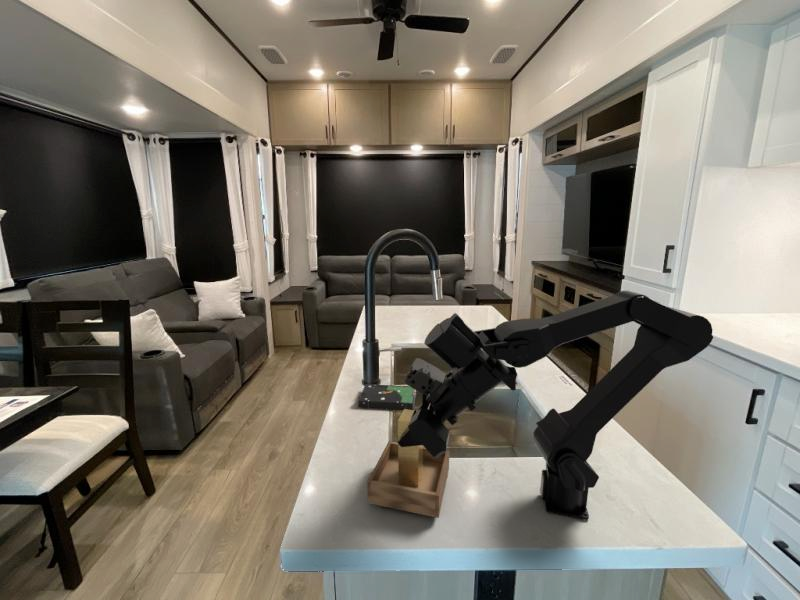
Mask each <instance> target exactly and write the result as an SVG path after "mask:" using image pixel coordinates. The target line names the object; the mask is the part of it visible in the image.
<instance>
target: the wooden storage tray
mask: <svg viewBox="0 0 800 600" xmlns="http://www.w3.org/2000/svg"><path fill="white" fill-rule="evenodd" d="M449 471H450V450H446V452H444V453H443V454H442V455H440V456H439V457H438V458H435V457H433V456H432V455H431V454H430V453H429V452H428V451H427V449H426V448H425V447H424V446H423V473H422V477H421V480H420V483H419V486H418V487H415V486H410V485H404V484H399V469H398V441H397V442H396V441H391V440H390V441H389V440H388V442H387V443H386V446H385V448H384V449H383V452H382V453H381V455H380V457H379V459H378V460H377V462H376V464H375V466H374V469H373V471H372V472H371V474H370V476H369V478H368V480H367V481H366V482H367V483H366V486H367V504H370V505H376V506H380V507H386V508H390V509H395V510H400V511H403V512H404V511H405V512H409V513H414V514H418V515H424V516H427V517H433V518H437V519H439V518H440V513H441V507H442V504H443V500H444V496H445V495H444V494H445V491H446V485H447V480H448V476H449Z"/></svg>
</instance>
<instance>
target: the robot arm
mask: <svg viewBox="0 0 800 600" xmlns="http://www.w3.org/2000/svg"><path fill="white" fill-rule="evenodd" d="M632 322H634V323H636V324H637V325H639V327H638V329H637V331H636V336H635V341H634V344H633V346H632V348H630V350H629V351H628V352H627V353H626V354H625V355H624V356H623V357H621V359H620V360H619V361H618V362H617V363H616V364H615V365H614V366H613V367H612V368H611V369H610V370H609V371H608V372H606V374H605V375H604V376H603V377H602V378H601V379H600V380H599V381H597V383H596V384H595V385H594V386H593V387H592V388H591V389H590V390H589V391H588V392H587V393H586V394H585V395H584V396H583V397H582V398H581V399H580V400H579V401H578V402H577V403H576V404H575V405H574V406H573V407H572V408H571V409H569V410H565V411H562V412H558V411H557V410H556V409H555V408H551V409H549V411H548V412H547V413H546V414H545V416H544V417H543V418H542V419H540V420H539V421H536V423H535V424H536V426H537V427H536V428H535V429H534V431H533V443H534V444H535V446H536V448H537V450H538V452H539V453H540V454H541V456H542V458H543V459H544V460H545V469H542V470H541V477H540V478H541V479H540V489H539V490H540V497H541V500H542V501H543V502H544V507H545V511H546V512H548V513H550V514H554V515H555V514H556V515H561V516H566V517H571V518H577V519H581V520H585V521H586V520H589V519H590V516H589V511H588V508H587V505H588V498H589V497H588V496H589V489H591V488H594V487H595V486H596V484H597V482H598V480H599V479H600V476H599V474H598V473H597V472H596V471H595V469H594V468H593V467H592V466H591V465H590V464H589V462H588V459H589V458H590V457H591V455H592V454H593V450H594V446H595V441H596V438H597V435H598V433H600V431H601V430H602V429H603V428H604V427H605V426H606V425H607V424H609V422H610V421H611V420H612V419H613V418H614V417H616V415H618V414H619V413H620V411H621V410H623V409H624V408H625V407H626V406H627V405H628V404H630V402H631V401H632V400H633V399H634V398H635V397H636V396H637V395H638V394H640V392H641V391H642V390H643V389H644V388H646V386H647V385H648V384H650V383H651V382H652V381H653V380H654V379H655V378H656V376H658V375H659V374H660V373H661V372H662V371H663V370H665V369H667V368H669V367H672V366H676V365H679V364H683V363H685V362H688V361H690V360H692V359H693V358H694V357H695V356H697V355H698V354H700V353H701V352H702V351H704V350H706V349H707V348H708V347H709V346H710V344H711V343H712V342H713V339H714V336H713V326H712V323H711V322H710V320H709V319H708V318H706V317H705V316H702V315H699V314H695V313H692V312H688V311H685V310H681V309H677V308H674V307H670V306H666V305H664V304H661V303H659V302H657V301H655V300H652V299H651V298H650V297H648V296H647V295H645V294H642V293H638V292H634V291H630V290H620V291H618V292H616V293H615V294H613V295H610V296H608V297H604V298H602V299H599V300H598V299H597V300H596V301H592V302H588V303H586V304H583V305H581V306H577V307H574V308H570V309H568V310H565V311H563V312H561V311H560V312H559V313H557V314H552V315H550V316H546V317H540V318H539V317H537V318H532V317H531V318H521V319H519V318H518V319H514V320H507V321H503V322H501V323H500V324H498V325H496V327H492V328H488V329H481V330H480V329H479V330H475V331H474V330H473V329H471V328H470V327H469V326H468V325H467V324H466V322H465V321H464V320H463V319H462V317H461V316H460V315H459V314H458V313H456V312H455V313H453V314H452V315H451V316H450V317H447V318H446V319H444V320H442V321H440V322H439V323H437V324H435V326H433V328H432V329H431V330H430V331H429V333H428V334H427V335H426V337H425V339H424V342H423V343H424V345H425V346H426V347H427V348H429V350H431V351H432V352H433V353H434V354H435V355H436V356H437V357H438V358H439V359H440V360H442V361H443V363H444V364H445V365H446V366H448V368H451V369H450V370H448V371H447V372H446V373H445V372H444V371H442V370H441V369H440V368H439V367H437V366H435V365H433V364H431V363H430V362H427V361H426V360H424V359H421V358H418V357H417V358H415V359H414V360H413V362H412V364H411V366H410V368H409V370H408V372H407V374H406V376H405V377H404V384H406V386H409V387H411V388H413V389H415V390H416V392H419V393H421V394H422V397H421V398H422V399H421V404H420V405H419V406H418V408H417V409H414V410H415V411H414V413H413V415H412V417H411V421H410V423H409V425H408V428H409V429H408V430H407V431H406V432H405V433H404V435H403V436H402V437H401V438H400V439H399V441H398V440H397V443H398V444H399V445H400V446H401V447H409V446H420V445H423V447H425V448H426V449H427V451H428V452H429V453H430V454H431V455H432V456H433V457H435V458H438V457H439V456H440V455H442V454H443V453H444V452H446V450H447V449H448V445H449V441H450V430H449V429H448V428H447V426H446V425H445V422H446V421H448V423H449V424H450V425H451V426H454V425H455V424H456V423H457V422H458V419H459V416H460V415H461V414H463V413H465V412H466V411H467V410H468V409H469V410H470V411H471V412H472V411H473V410H475V409H476V408H477V403H478V402H479V400H482V398H484V397H486V396H487V395H488V394H489V393H490V392H492V391H493V390H495V388H497V387H498V386H499V385H501V384H504V385H505V386H507V388H509V389H510V390H511V391H515V390H516V389H517V387H516V386H517V385H516V384H517V382H516V380H517V377H518V372H517V369H518V368H519V369H520V368H526V367H528V366H531V365H533V364H534V363H536V362H538V361H540V360H542V359H545V358H546V357H547V356H549V354H550V353H551V352H553V351H554V349H555V348H558V347H559V346H561V345H563V344H567V343H570V342H573V341H577V340H579V339H582V338H585V337H589V336H591V335H594V334H598V333H600V332H604V331H607V330H609V329H613V328H616V327H620V326H623V325H625V324H629V323H632ZM502 361H504V362H505V363H506V364H508V365H510V366H507V365H506V364H504V363H503V362H502ZM456 369H457V370H456ZM447 451H448V450H447Z"/></svg>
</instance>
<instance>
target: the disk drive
mask: <svg viewBox="0 0 800 600" xmlns="http://www.w3.org/2000/svg"><path fill="white" fill-rule="evenodd" d="M416 397H417V390H415V389H413V388H411V387H410V386H408V385H392V384H387V385H386V384H373V383H367V384H365V385H364V387H363V389H362V391H361V395H360V396H359V398H358V399H357V408H358V409H366V410H367V409H368V410H369V409H374V410H386V411H387V410H388V411H389V410H393V411H394V410H395V411H403V410H404V409H407V410H415V409H414V408H415V402H416Z"/></svg>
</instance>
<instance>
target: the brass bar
mask: <svg viewBox="0 0 800 600" xmlns="http://www.w3.org/2000/svg"><path fill="white" fill-rule="evenodd" d="M415 410H416V409H414V410H407V409H404V410H402V412H401V414H400V416H399V418H398V420H397V433H398V434H397V436H398V437H397V438H398V440H397V442H398V441H399V439H400V438H401V437H402V436H403V435H404V433H405V432H406V431H407V430H408V429H409V428H408V425H409V423H410V421H411V417H412V415H413V413H414V411H415ZM423 447H424V446H423V445H420V446H409V447H401V446H400V445H399V444H398V469H399V484H404V485H410V486H415V487H418V486H419V483H420V480H421V477H422V473H423Z"/></svg>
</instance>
